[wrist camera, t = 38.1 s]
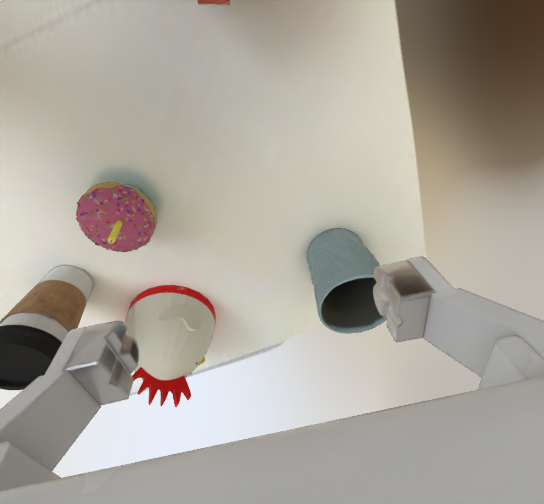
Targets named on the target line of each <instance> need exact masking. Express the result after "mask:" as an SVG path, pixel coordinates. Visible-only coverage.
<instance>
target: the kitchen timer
mask: <svg viewBox="0 0 544 504" xmlns="http://www.w3.org/2000/svg"><path fill="white" fill-rule="evenodd" d="M125 325H126V327H127V328H128V329H127V332H126V334H127V335H129V336H132V337H134V339H135V340H136V342H137V344H138V348H139V361H138V365H137V367H136V368H135V373H134V374H133V376H132V377H133V379H134V380H135V379H137V378H139V377H140V378H142V379H143V383H142V385H141V387H140V389H139V391H138V394H140V393H141V392H142V391H143V390H144V389H146V388H147V387H149V405H150V404H151V402H152V400H153V398H154V396H155V394H156V392H157V390H160V391H161V406H162V405H163V403H164V401H165V399H166V397H167V395H168V392H169V391H171V392H172V394H173V399H174V404H175V407H177V405H178V404H179V401H180V396H181V392H182V393H184V395H185V397H186V398H187V400H189V399H190V397H191V393H190V389H189V387H188V384H187V382H186V379H185V378H186V377H187V376H188V375H189V374H191V373H192V372H193V371H194V370H195V369H196V367H197V366H199V365H200V364H202V363H203V362H204V361H205V359H204V355H205V354H206V352H207V349H208V347H209V345H210V343H211V340H212V338H213V334H214V328H215V312H214V308H213V306H212V305H211V303H210V302H209V301H208V299H207V298H205V297H204V296H203V295H201V294H200V293H199V292H196V291H194V290H191V289H189V288H186V287H180V286H175V285H172V286H159V287H155V288H151V289H148V290H146V291H145V292H143V293H141V294H139V295H138V296H137V297H136V298H135V299H134V300H133V302H132V303H131V306H130V308H129V311H128V314H127V317H126V320H125ZM134 380H133V381H134Z"/></svg>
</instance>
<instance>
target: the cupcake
mask: <svg viewBox="0 0 544 504" xmlns="http://www.w3.org/2000/svg"><path fill="white" fill-rule="evenodd" d="M77 204H78V207H77V212H76V216H77V218H76V219H77V221H78V222H79V226H80V227H81V230H82V231H83V232H84V233H85V235H86V236H88V238H89V239H91V240H92V241H93V242H95V245H97V244H98V245H100V246H102V247H104V248H106V249H108V250H113V251H117V252H118V251H120V252H127V251H131V250H134V249H135V250H137V249H138V248H139V247H142V246H144V245H145V246H146V244H147V243H148V242H149V241H150V238H151V237H152V235H153V233H154V230H155V227H156V222H157V216H156V211H155V208H154V207H153V205H152V203H151V201H150V199H149V198H148V197H146V196H145V195H144V194H143V193H142V191H140V190H139V189H138V188H136V187H134V186H132V185H128V184H120V183H116V182H107V183H101V184H97V185H94V186H93V187H91V188H90V189H89V190H88V191H87V192H86V193H85V194H84V195H83V196H82V197H81V198H80V200H79V202H77Z"/></svg>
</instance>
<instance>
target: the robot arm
mask: <svg viewBox="0 0 544 504" xmlns="http://www.w3.org/2000/svg"><path fill="white" fill-rule="evenodd" d="M373 277H374V279H375V280H376V282H377V283H376V284H375V286H374V287H373V296H374V301H375V305H376V307H377V310H378V311H379V313H380V315H381V316H383V317H385V318H387V328H388V329H389V331H390V333H391V334H392V336H393V338H394V340H395V341H396V342H401V341H406V340H412V339H418V338H423V337H424V339H425V340H426V341H428V342H429V343H431V344H432V345H434V346H435V347H437V348H438V349H440V350H441V351H443V352H444V353H446V354H447V355H449V356H450V357H451V358H453V359H454V360H456V361H457V362H459V363H460V364H462V365H464V366H465V367H466V368H468V369H469V370H471V371H472V372H474V373H475V374H477V375H478V376H480V377H481V378H482V379H481V381H480V384H479V387H478V389H477V390H475V391H470V392H466V393H461V394H456V395H452V396H447V397H443V398H438V399H433V400H428V401H423V402H418V403H414V404H409V405H404V406H399V407H395V408H390V409H385V410H381V411H376V412H371V413H366V414H362V415H357V416H352V417H348V418H343V419H338V420H334V421H329V422H325V423H320V424H315V425H310V426H305V427H301V428H296V429H291V430H287V431H281V432H277V433H272V434H267V435H263V436H258V437H253V438H248V439H244V440H239V441H234V442H230V443H226V444H221V445H215V446H211V447H206V448H201V449H197V450H192V451H187V452H182V453H178V454H173V455H168V456H163V457H159V458H154V459H149V460H145V461H140V462H135V463H131V464H126V465H121V466H116V467H112V468H107V469H102V470H98V471H93V472H88V473H83V474H78V475H74V476H69V477H64V478H61V477H59V476H58V475H56V474H55V473H53V472H52V470H53V469H54V468H55V467H56V465H57V464H58V462H59V461H60V460H61V459H62V457H63V456H64V455H65V453H66V452H67V451H68V449H69V448H70V447H71V446H72V444H73V443H74V442H75V440H76V439H77V438H78V436H79V435H80V434H81V433H82V431H83V430H84V429H85V427H86V426H87V425H88V423H89V422H90V421H91V419H92V418H93V417H94V415H95V414H96V413H97V411H98V410H99V409H100V408H101V405H104V404H109V403H113V402H117V401H121V400H125V399H128V398H129V394H130V391H131V387H132V384H133V380H134V379H133V377H132V375H131V373H132V372H133V371H134V370H135V368H136V367H137V365H138V361H139V348H138V344H137V342H136V340H135V339H134V337H132V336H129V335H127V334H126V332H127V329H128V328H127V327H126V325H125V324H124V322H123V321H114V322H109V323H103V324H98V325H93V326H88V327H84V328H78V329H73V330H71V331H70V332H68V333H67V335H66V337H65V339H64V341H63V342H62V344H61V346H60V348H59V350H58V351H57V353H56V355H55V357H54V359H53V360H52V362H51V364H50V366H49V368H48V369H47V371H46V373H45V375H43V376H39V377H38V378H37V379H35V380H34V381H33V382H32V383H31V384H30V385H28V386H27V387H26V388H25V389H24V390H23V391H21V392H20V393H19V394H18V395H17V396H16V397H14V398H13V399H12V400H11V401H10V402H9V403H7V404H6V405H5V406H4V407H3V408H2V409H0V504H544V321H542V320H540V319H537V318H535V317H532V316H530V315H527V314H525V313H522V312H519V311H517V310H514V309H512V308H509V307H507V306H504V305H502V304H499V303H496V302H494V301H491V300H489V299H486V298H483V297H481V296H478V295H476V294H474V293H471V292H469V291H466V290H463V289H461V288H457V289H454V288H453V287H452V286H451V285H450V284H449V282H448V281H447V280H446V279H445V278H444V277H443V276H442V275H441V274H440V273H439V272H438V271H437V270H436V269H435V268H434V266H433V265H432V264H431V263H430V262H429V261H428V260H427V259H426V258H425V257H423V256H421V257H416V258H412V259H408V260H404V261H400V262H395V263H390V264H386V265H381V266H377V267H375V268H374V275H373Z"/></svg>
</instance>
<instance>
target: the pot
mask: <svg viewBox="0 0 544 504" xmlns="http://www.w3.org/2000/svg"><path fill="white" fill-rule="evenodd" d="M198 4H199V5H230V0H198Z"/></svg>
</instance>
